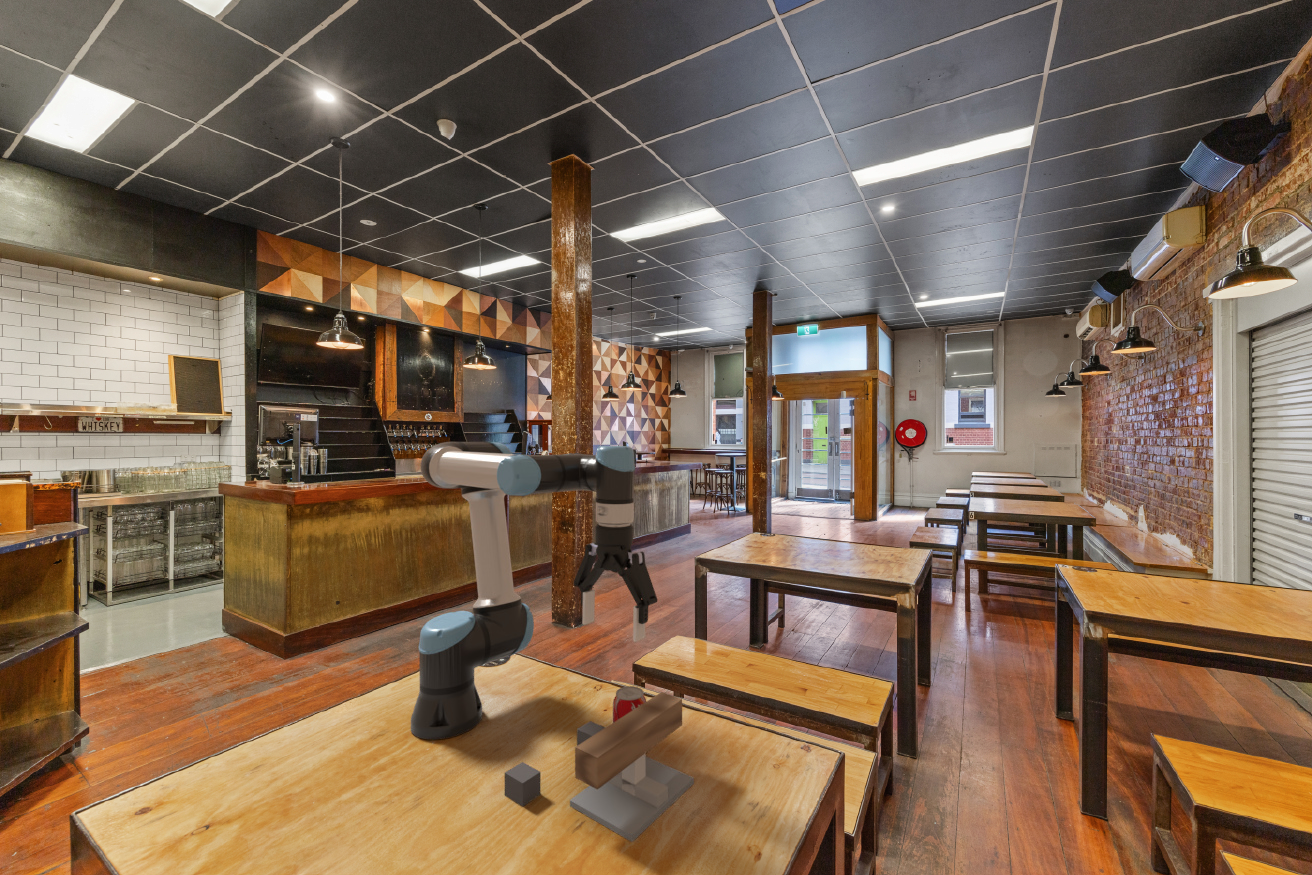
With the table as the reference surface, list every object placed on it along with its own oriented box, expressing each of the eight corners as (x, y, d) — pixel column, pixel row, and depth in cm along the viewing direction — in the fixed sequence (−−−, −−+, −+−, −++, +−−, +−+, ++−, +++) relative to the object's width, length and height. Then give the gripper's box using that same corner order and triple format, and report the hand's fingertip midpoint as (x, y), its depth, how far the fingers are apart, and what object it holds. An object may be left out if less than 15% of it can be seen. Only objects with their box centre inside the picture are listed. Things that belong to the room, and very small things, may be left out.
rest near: (504, 795, 94) (504, 772, 94) (522, 783, 97) (522, 761, 97) (522, 806, 91) (522, 783, 91) (540, 794, 94) (540, 771, 94)
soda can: (625, 765, 103) (625, 704, 103) (606, 749, 108) (606, 691, 109) (653, 752, 107) (653, 693, 108) (633, 737, 113) (633, 681, 113)
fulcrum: (569, 805, 91) (569, 759, 91) (635, 756, 105) (635, 716, 105) (632, 841, 82) (631, 790, 83) (693, 783, 97) (693, 739, 97)
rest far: (576, 748, 108) (576, 729, 108) (590, 739, 111) (590, 720, 111) (594, 757, 105) (594, 736, 105) (608, 747, 108) (607, 728, 108)
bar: (575, 777, 86) (575, 747, 86) (661, 717, 105) (661, 691, 105) (597, 789, 83) (597, 757, 83) (682, 724, 102) (682, 699, 102)
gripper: (557, 518, 108) (556, 621, 108) (652, 534, 93) (650, 653, 93) (583, 515, 114) (582, 612, 114) (676, 528, 99) (674, 640, 99)
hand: (612, 630), depth 104 cm, fingers open, 13 cm apart
